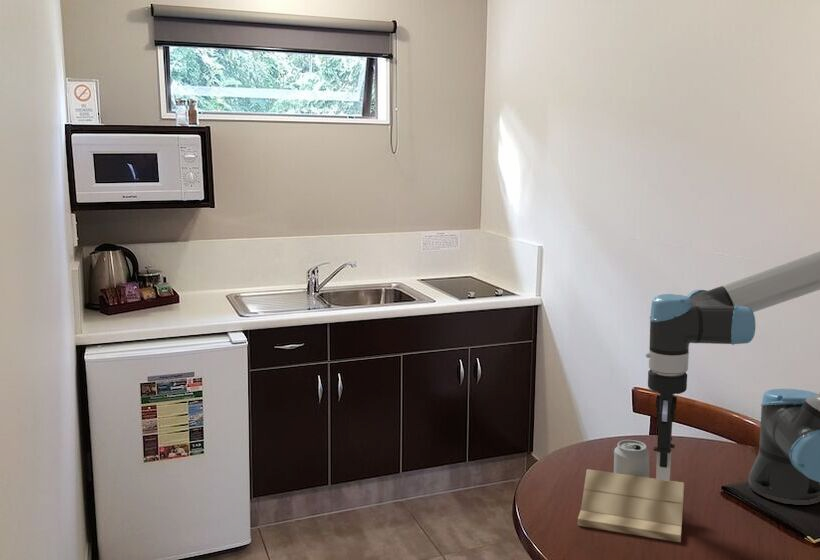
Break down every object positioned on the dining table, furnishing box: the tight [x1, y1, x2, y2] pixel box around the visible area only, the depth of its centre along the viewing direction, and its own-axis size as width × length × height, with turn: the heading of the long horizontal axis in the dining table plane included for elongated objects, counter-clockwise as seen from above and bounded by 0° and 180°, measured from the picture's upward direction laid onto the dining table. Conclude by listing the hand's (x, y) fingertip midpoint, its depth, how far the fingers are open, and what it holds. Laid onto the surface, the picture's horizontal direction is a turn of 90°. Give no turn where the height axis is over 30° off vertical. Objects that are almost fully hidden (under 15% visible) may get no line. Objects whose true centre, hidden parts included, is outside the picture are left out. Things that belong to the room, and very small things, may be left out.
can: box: [613, 439, 651, 478], centre depth 162 cm, size 8×8×12 cm
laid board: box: [577, 509, 683, 543], centre depth 148 cm, size 20×4×2 cm, turn 68°
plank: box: [580, 468, 685, 526], centre depth 154 cm, size 20×10×2 cm
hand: (662, 478), depth 152 cm, fingers closed
